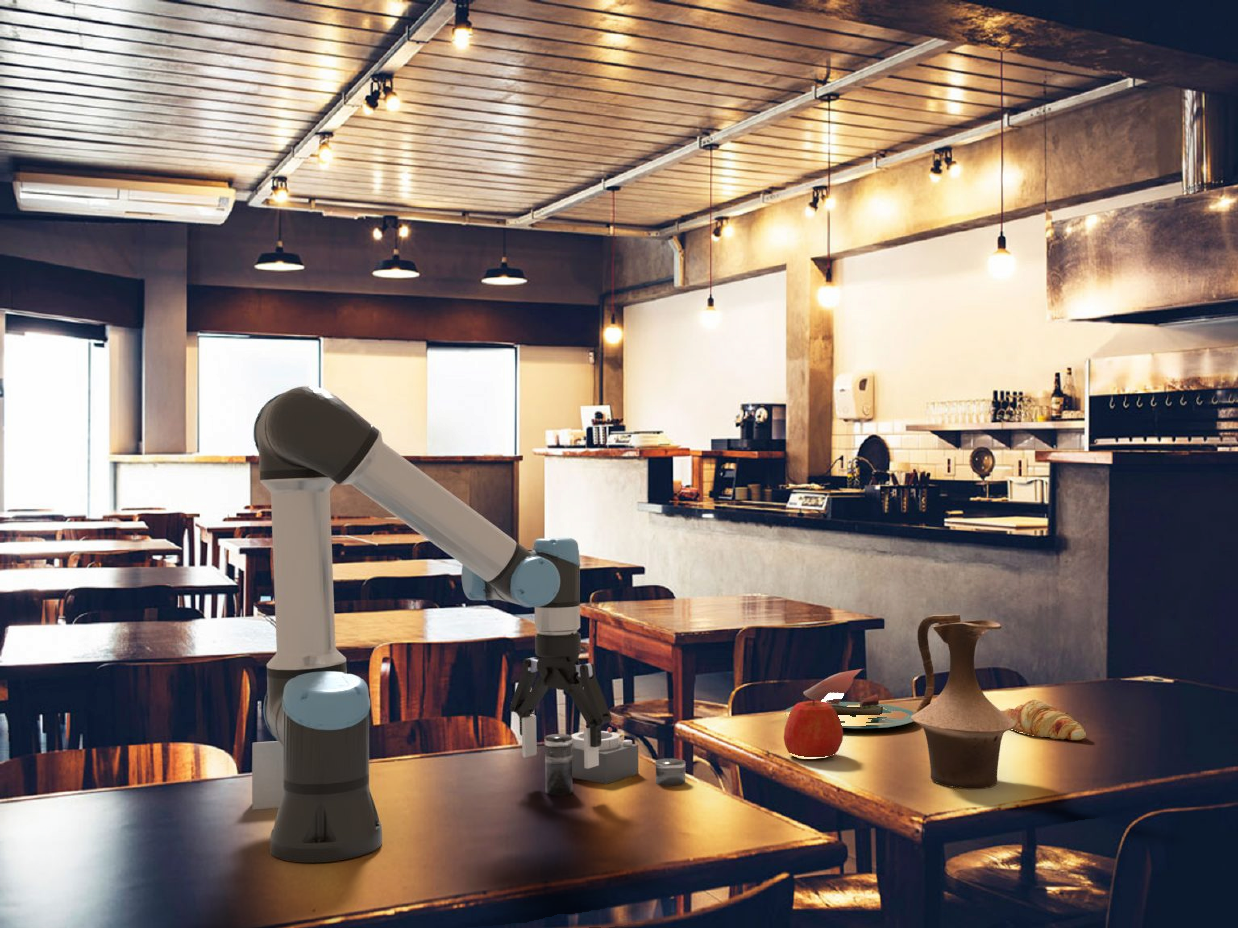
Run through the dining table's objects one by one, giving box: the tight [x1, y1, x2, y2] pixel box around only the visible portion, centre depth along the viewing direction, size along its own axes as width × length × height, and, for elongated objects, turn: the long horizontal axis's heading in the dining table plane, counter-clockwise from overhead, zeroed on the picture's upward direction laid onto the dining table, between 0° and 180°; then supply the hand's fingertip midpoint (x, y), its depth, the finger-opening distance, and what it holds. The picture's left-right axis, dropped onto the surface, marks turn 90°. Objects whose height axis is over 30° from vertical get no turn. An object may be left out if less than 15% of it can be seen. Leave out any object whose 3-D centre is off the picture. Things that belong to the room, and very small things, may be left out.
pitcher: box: [911, 613, 1016, 790], centre depth 197 cm, size 18×17×28 cm
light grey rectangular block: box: [251, 740, 284, 810], centre depth 186 cm, size 4×7×10 cm, turn 107°
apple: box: [783, 699, 844, 757], centre depth 216 cm, size 11×11×11 cm
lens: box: [544, 733, 573, 796], centre depth 192 cm, size 5×5×9 cm
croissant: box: [1001, 699, 1087, 741], centre depth 235 cm, size 21×10×8 cm, turn 31°
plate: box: [784, 668, 915, 729], centre depth 249 cm, size 28×28×11 cm
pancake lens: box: [654, 758, 686, 787], centre depth 198 cm, size 5×5×4 cm
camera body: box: [570, 727, 640, 785], centre depth 204 cm, size 9×12×7 cm
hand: (559, 761), depth 192 cm, fingers open, 13 cm apart
